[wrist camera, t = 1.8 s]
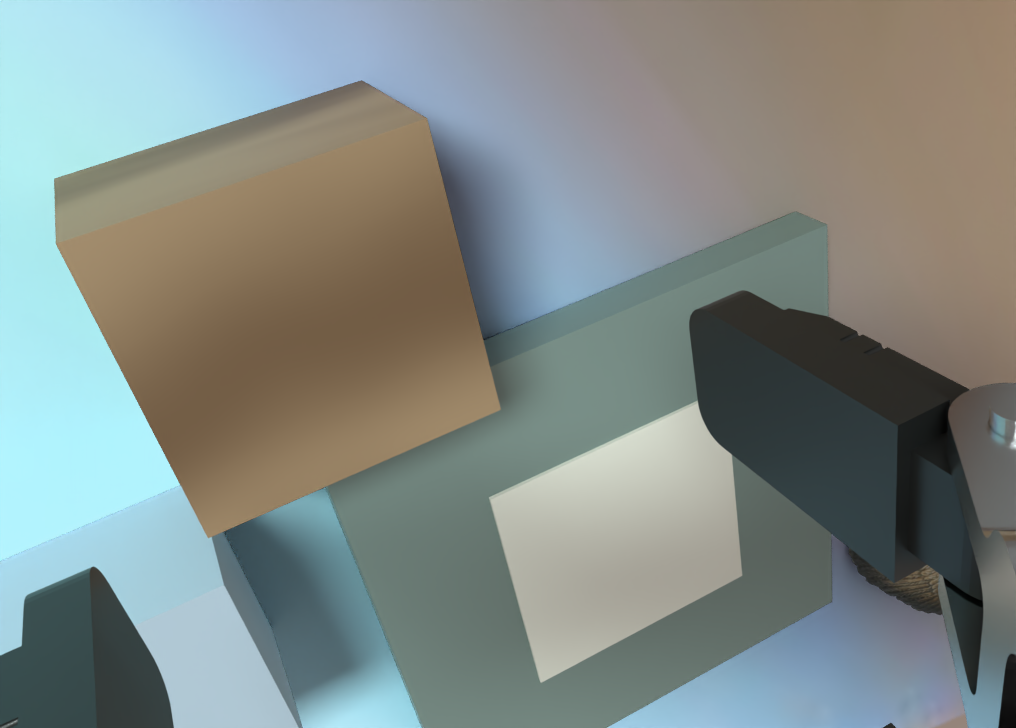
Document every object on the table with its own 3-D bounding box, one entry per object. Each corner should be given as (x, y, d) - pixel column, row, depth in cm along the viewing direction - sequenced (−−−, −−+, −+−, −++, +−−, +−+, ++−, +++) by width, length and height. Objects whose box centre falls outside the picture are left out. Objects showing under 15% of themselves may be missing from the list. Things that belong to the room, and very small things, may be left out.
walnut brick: (54, 176, 17) (55, 243, 13) (358, 78, 18) (427, 118, 15) (181, 433, 20) (208, 538, 16) (431, 331, 21) (500, 409, 18)
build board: (297, 417, 20) (311, 445, 19) (795, 211, 24) (829, 225, 23) (442, 779, 28) (458, 814, 27) (807, 580, 31) (833, 603, 30)
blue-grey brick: (-38, 573, 19) (-55, 712, 16) (195, 475, 20) (223, 584, 17) (71, 720, 22) (75, 865, 18) (271, 625, 23) (308, 745, 20)
